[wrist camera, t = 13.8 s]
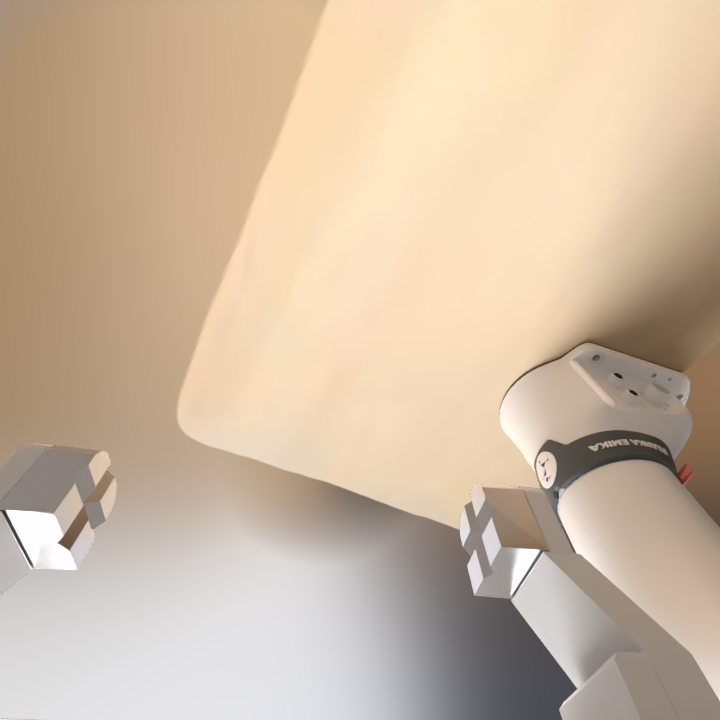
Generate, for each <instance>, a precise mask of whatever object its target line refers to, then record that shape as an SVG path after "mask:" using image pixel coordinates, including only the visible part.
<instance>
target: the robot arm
mask: <svg viewBox="0 0 720 720" xmlns="http://www.w3.org/2000/svg"><path fill="white" fill-rule="evenodd" d="M596 355H597V356H596ZM594 356H596V357H594ZM593 357H594V358H593ZM689 392H690V380H689V379H688V378H687V377H686V375H685V374H683V373H680V372H677V371H674V370H671V369H668V368H665V367H662V366H659V365H656V364H653V363H650V362H647V361H644V360H641V359H638V358H635V357H632V356H629V355H626V354H623V353H620V352H617V351H614V350H611V349H608V348H605V347H602V346H599V345H596V344H592V343H584V344H582V345H580V346H578V347H576V348H575V349H573V350H572V351H571V352H569V353H568V354H567V355H565V356H564V357H563V358H561V359H559V360H556V361H554V362H551V363H548V364H546V365H543V366H541V367H538V368H536V369H535V370H533V371H531V372H529V373H528V374H526V375H525V376H523V377H522V378H521V379H520V380H519V381H517V382H516V383H515V384H514V385H513V386H512V388H511V389H510V390H509V391H508V393H507V394H506V396H505V398H504V400H503V402H502V405H501V408H500V423H501V426H502V428H503V430H504V432H505V433H506V435H507V436H508V437H509V438H510V439H511V440H512V441H513V442H514V443H515V444H516V446H517V447H518V448H519V450H520V451H521V452H522V454H523V456H524V457H525V459H526V461H527V462H529V464H530V465H531V467H532V468H533V470H534V471H535V473H536V475H537V478H538V481H539V484H540V487H541V489H540V488H530V487H517V486H509V485H496V484H483V483H476V484H475V485H474V486H473V487H472V489H471V492H470V497H471V500H472V501H471V502H470V503H468V504H467V505H465V506H464V508H463V511H462V513H461V517H460V536H461V541H462V545H463V548H464V549H465V550H466V551H467V552H468V553H469V555H470V556H471V559H470V561H469V563H468V565H467V567H468V571H469V575H470V579H471V584H472V588H473V592H474V595H476V596H487V597H499V598H509V599H512V603H513V604H514V605H515V607H516V608H517V609H518V610H519V612H520V613H521V614H522V616H523V617H524V618H525V620H526V621H527V622H528V624H529V625H530V626H531V628H532V629H533V630H534V632H535V633H536V634H537V636H538V637H539V638H540V640H541V641H542V642H543V644H544V645H545V646H546V648H547V649H548V650H549V652H550V653H551V654H552V655H553V657H554V658H555V659H556V661H557V662H558V663H559V665H560V666H561V667H562V669H563V670H564V671H565V673H566V674H567V675H568V677H569V678H570V679H571V680H572V682H573V683H574V685H575V686H576V687H577V690H576V691H575V692H574V693H573V694H572V695H571V696H570V697H569V698H568V699H567V700H566V701H564V702H563V704H562V706H561V708H560V709H559V710H560V714H561V716H562V720H720V528H719V527H718V526H717V525H716V523H715V522H714V521H713V520H712V519H711V518H710V516H709V515H708V514H707V513H706V512H705V511H704V510H703V508H702V507H701V506H700V505H699V504H698V503H697V501H696V500H695V499H694V498H693V497H692V496H691V494H690V493H689V492H688V491H687V490H686V489H685V487H684V485H685V484H686V483H687V481H688V480H689V479H690V478H691V477H692V475H693V474H694V472H695V470H692V471H691V472H690V473H689V474H688V475H686V474H687V471H688V469H689V466H690V465H689V464H688V463H686V464H685V465H684V466H683V467H682V469H681V470H680V471H679V472H678V474H677V470H676V466H675V463H674V459H675V457H676V456H677V454H678V453H679V452H680V450H681V449H682V447H683V446H684V444H685V443H686V441H687V439H688V437H689V435H690V432H691V428H692V417H691V414H690V412H689V411H688V409H687V408H686V407H685V404H686V402H687V399H688V396H689ZM110 464H111V461H110V458H109V455H108V452H105V451H100V450H91V449H83V448H74V447H65V446H56V445H45V444H35V443H28V444H26V445H24V446H22V447H20V448H19V449H18V450H17V451H16V452H15V453H14V454H13V455H12V456H11V457H10V458H9V460H8V461H6V463H5V464H4V465H3V466H2V467H1V468H0V596H1V595H2V594H3V593H5V592H6V591H7V590H9V588H11V587H12V586H14V585H15V584H16V583H17V582H19V581H20V580H21V579H22V578H23V577H25V576H26V575H27V574H29V573H30V572H31V571H32V569H31V568H41V569H68V570H77V569H78V568H79V566H80V564H81V563H82V561H83V559H84V557H85V556H86V554H87V552H88V551H89V549H90V547H91V545H92V544H93V542H94V540H95V538H94V534H93V529H94V528H95V527H97V526H99V525H100V524H101V523H103V522H104V521H106V519H107V517H108V516H109V514H110V512H111V510H112V508H113V505H114V502H115V498H116V495H117V494H116V493H117V492H116V491H117V484H116V480H115V477H114V476H113V475H112V474H111V473H110V472H108V471H107V468H108V467H109V465H110ZM685 475H686V476H685ZM560 524H562V525H563V526H564V528H565V530H566V532H567V534H568V536H569V538H570V540H571V543H572V545H573V547H574V549H575V551H576V553H577V554H574V552H573V550H572V548H571V547H570V544H569V542H568V540H567V538H566V536H565V534H564V532H563V530H562V528H561V526H560ZM0 720H30V719H0Z"/></svg>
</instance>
